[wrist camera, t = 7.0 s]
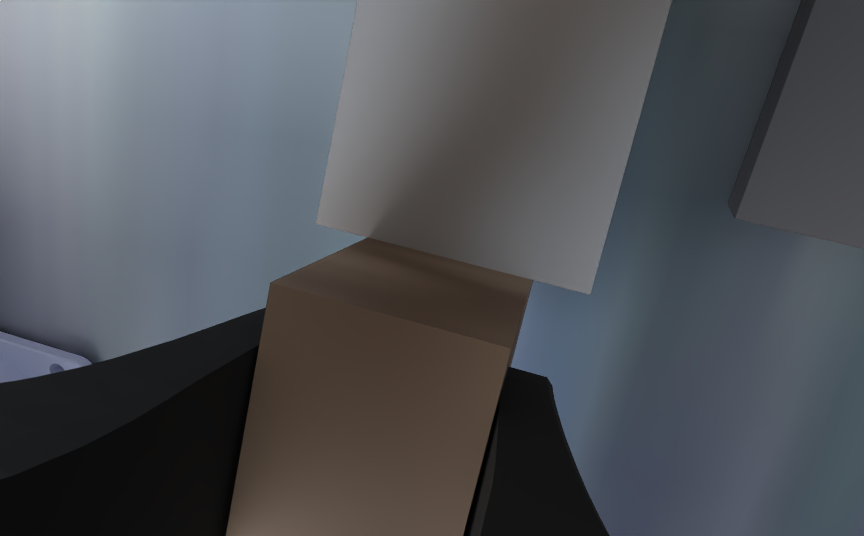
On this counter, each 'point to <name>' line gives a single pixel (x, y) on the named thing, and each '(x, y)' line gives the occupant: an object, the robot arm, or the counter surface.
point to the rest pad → (811, 131)
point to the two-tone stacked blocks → (436, 253)
